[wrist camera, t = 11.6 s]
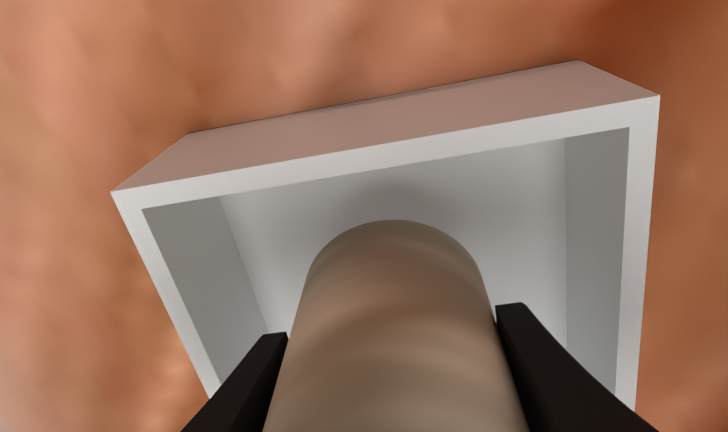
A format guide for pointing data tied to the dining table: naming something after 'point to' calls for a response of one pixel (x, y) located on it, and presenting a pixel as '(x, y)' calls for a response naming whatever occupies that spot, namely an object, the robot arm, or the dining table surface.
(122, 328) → the dining table surface
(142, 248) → the tote
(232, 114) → the dining table surface
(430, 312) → the cylinder
